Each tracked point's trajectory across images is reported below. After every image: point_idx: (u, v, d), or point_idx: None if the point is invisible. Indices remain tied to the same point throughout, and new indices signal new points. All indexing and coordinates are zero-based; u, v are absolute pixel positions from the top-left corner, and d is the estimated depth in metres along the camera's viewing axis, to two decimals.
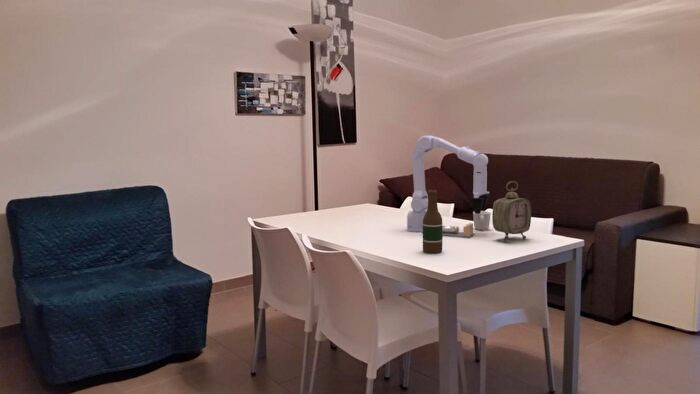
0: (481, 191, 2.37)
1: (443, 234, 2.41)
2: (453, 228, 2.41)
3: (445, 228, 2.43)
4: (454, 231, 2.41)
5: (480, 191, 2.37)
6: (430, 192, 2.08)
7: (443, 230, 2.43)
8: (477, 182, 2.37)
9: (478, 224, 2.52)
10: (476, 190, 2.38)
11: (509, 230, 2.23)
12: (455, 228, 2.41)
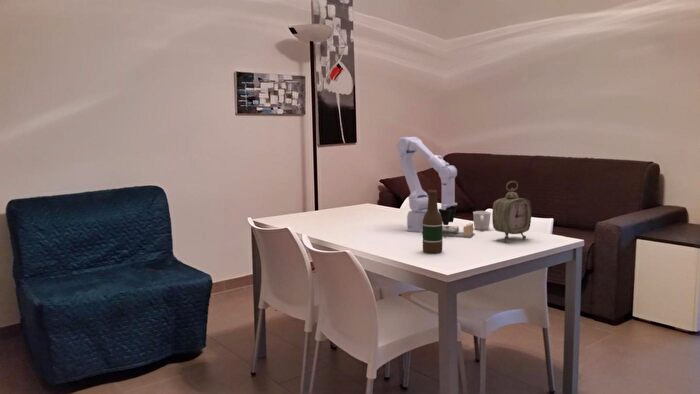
0: (449, 203, 2.39)
1: (443, 234, 2.41)
2: (453, 228, 2.41)
3: (445, 228, 2.43)
4: (454, 231, 2.41)
5: (448, 203, 2.39)
6: (430, 192, 2.08)
7: (443, 230, 2.43)
8: (445, 194, 2.39)
9: (478, 224, 2.52)
10: (444, 202, 2.40)
11: (509, 230, 2.23)
12: (455, 228, 2.41)
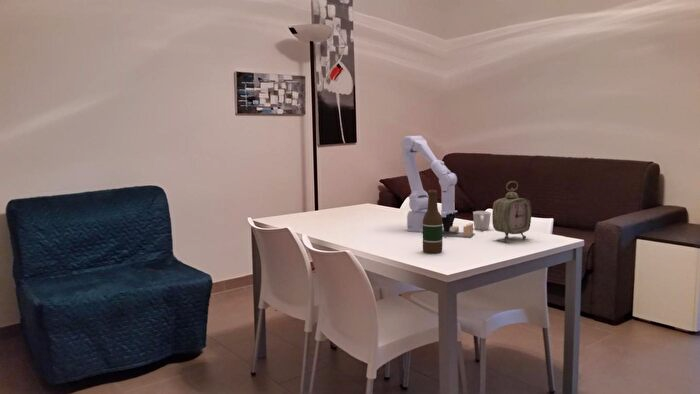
0: (449, 210, 2.40)
1: (443, 234, 2.41)
2: (453, 228, 2.41)
3: None
4: (454, 231, 2.41)
5: (448, 210, 2.40)
6: (430, 192, 2.08)
7: (443, 230, 2.43)
8: (445, 201, 2.40)
9: (478, 224, 2.52)
10: (444, 209, 2.41)
11: (509, 230, 2.23)
12: (455, 228, 2.41)
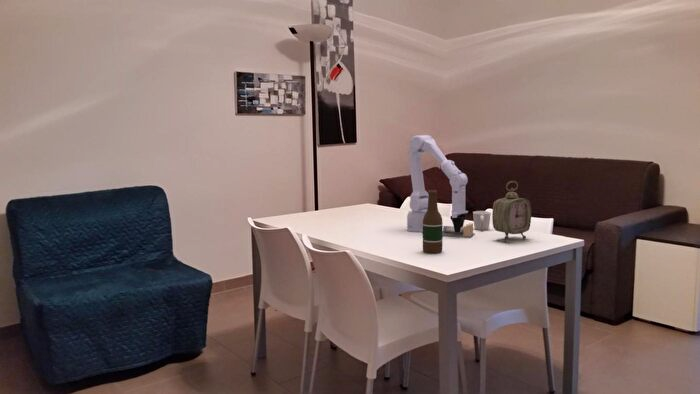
0: (459, 211, 2.38)
1: (443, 234, 2.41)
2: None
3: None
4: None
5: (458, 211, 2.38)
6: (430, 192, 2.08)
7: (453, 231, 2.41)
8: (455, 202, 2.38)
9: (478, 224, 2.52)
10: (455, 210, 2.39)
11: (509, 230, 2.23)
12: None
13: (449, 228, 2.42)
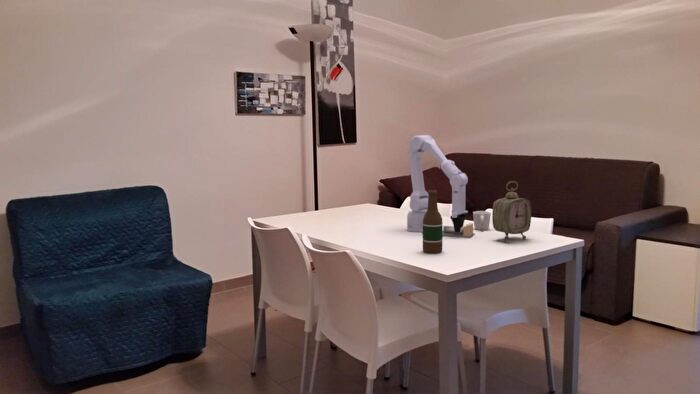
0: (459, 210, 2.38)
1: (443, 234, 2.41)
2: None
3: None
4: None
5: (458, 210, 2.38)
6: (430, 192, 2.08)
7: (453, 231, 2.41)
8: (455, 201, 2.38)
9: (478, 224, 2.52)
10: (455, 209, 2.39)
11: (509, 230, 2.23)
12: None
13: (449, 228, 2.42)
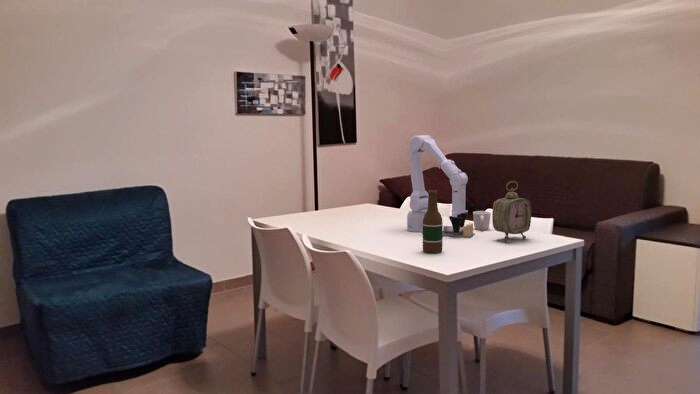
0: (459, 210, 2.38)
1: (443, 234, 2.41)
2: None
3: None
4: None
5: (458, 210, 2.38)
6: (430, 192, 2.08)
7: (453, 231, 2.41)
8: (455, 201, 2.38)
9: (478, 224, 2.52)
10: (455, 209, 2.39)
11: (509, 230, 2.23)
12: None
13: (449, 228, 2.42)
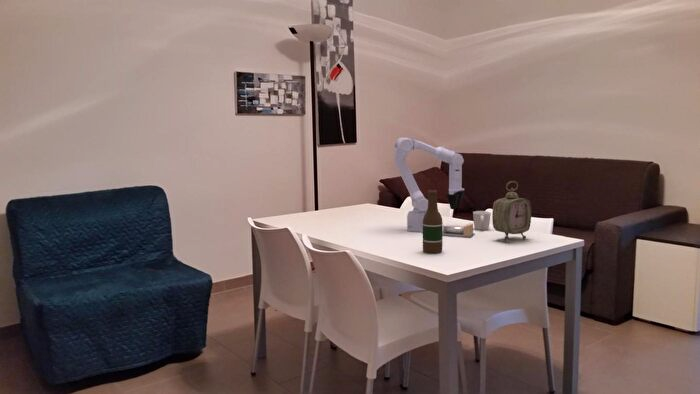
0: (456, 188, 2.51)
1: (443, 234, 2.41)
2: None
3: (456, 228, 2.41)
4: None
5: (455, 188, 2.51)
6: (430, 192, 2.08)
7: (453, 231, 2.41)
8: (452, 179, 2.52)
9: (478, 224, 2.52)
10: (451, 187, 2.52)
11: (509, 230, 2.23)
12: None
13: (449, 228, 2.42)
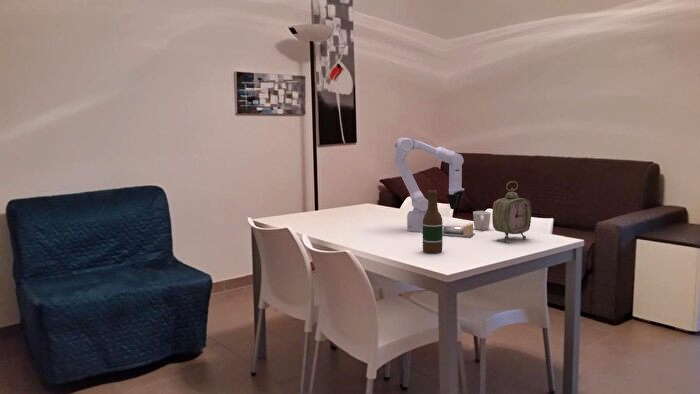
0: (456, 188, 2.51)
1: (443, 234, 2.41)
2: None
3: (456, 228, 2.41)
4: None
5: (455, 188, 2.51)
6: (430, 192, 2.08)
7: (453, 231, 2.41)
8: (452, 179, 2.52)
9: (478, 224, 2.52)
10: (451, 187, 2.52)
11: (509, 230, 2.23)
12: None
13: (449, 228, 2.42)
